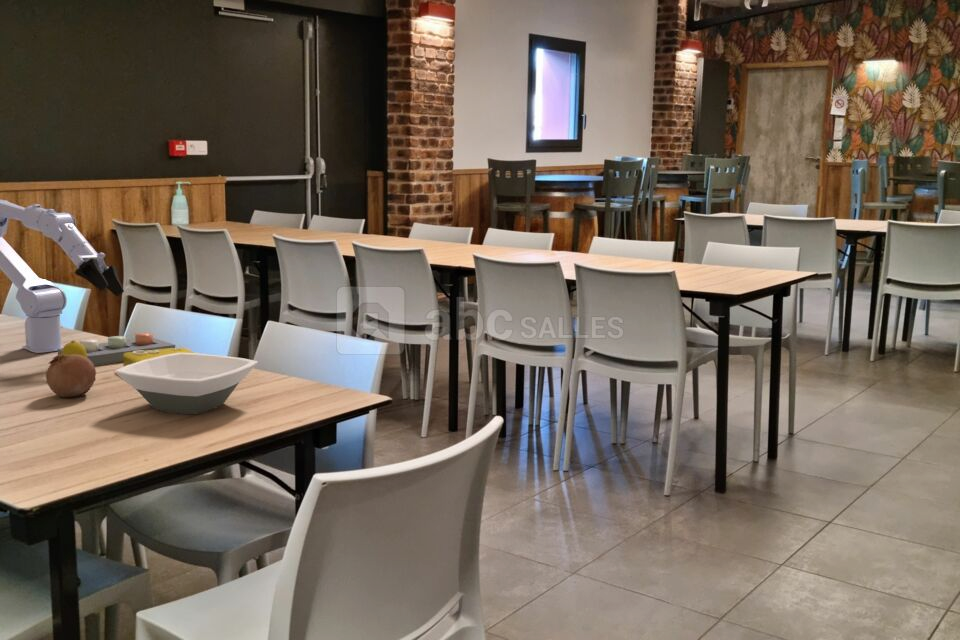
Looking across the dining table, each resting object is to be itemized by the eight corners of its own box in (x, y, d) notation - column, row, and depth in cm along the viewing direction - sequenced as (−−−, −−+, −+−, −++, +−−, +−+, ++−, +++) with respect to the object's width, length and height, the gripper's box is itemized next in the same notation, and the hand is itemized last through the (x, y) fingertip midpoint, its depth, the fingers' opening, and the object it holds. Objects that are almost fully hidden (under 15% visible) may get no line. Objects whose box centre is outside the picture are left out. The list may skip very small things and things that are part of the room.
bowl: (203, 427, 178) (202, 382, 177) (105, 413, 186) (103, 370, 184) (268, 400, 198) (268, 360, 197) (177, 388, 206) (176, 350, 205)
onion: (55, 413, 196) (29, 373, 191) (70, 390, 204) (45, 351, 200) (97, 398, 195) (71, 358, 190) (110, 376, 203) (86, 337, 199)
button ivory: (77, 351, 231) (76, 340, 231) (94, 349, 234) (93, 338, 234) (84, 353, 228) (84, 343, 228) (101, 351, 231) (101, 341, 231)
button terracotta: (132, 344, 241) (132, 334, 240) (148, 342, 244) (148, 332, 243) (140, 346, 238) (139, 336, 238) (156, 344, 241) (155, 334, 241)
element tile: (142, 383, 212) (142, 362, 211) (120, 370, 223) (120, 350, 222) (207, 375, 221) (207, 355, 220) (183, 363, 232) (183, 344, 232)
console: (58, 358, 232) (57, 348, 232) (151, 346, 249) (150, 337, 249) (80, 367, 223) (80, 357, 223) (175, 354, 240) (175, 344, 240)
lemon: (81, 378, 213) (80, 343, 212) (57, 377, 213) (55, 342, 212) (92, 372, 219) (90, 338, 217) (68, 372, 219) (66, 337, 218)
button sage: (105, 347, 236) (105, 337, 236) (121, 345, 239) (121, 335, 238) (112, 350, 233) (112, 339, 233) (129, 348, 236) (129, 337, 236)
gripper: (76, 232, 226) (110, 273, 223) (106, 246, 240) (139, 285, 237) (54, 253, 226) (87, 294, 223) (86, 265, 240) (118, 304, 237)
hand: (112, 290), depth 230 cm, fingers open, 7 cm apart
